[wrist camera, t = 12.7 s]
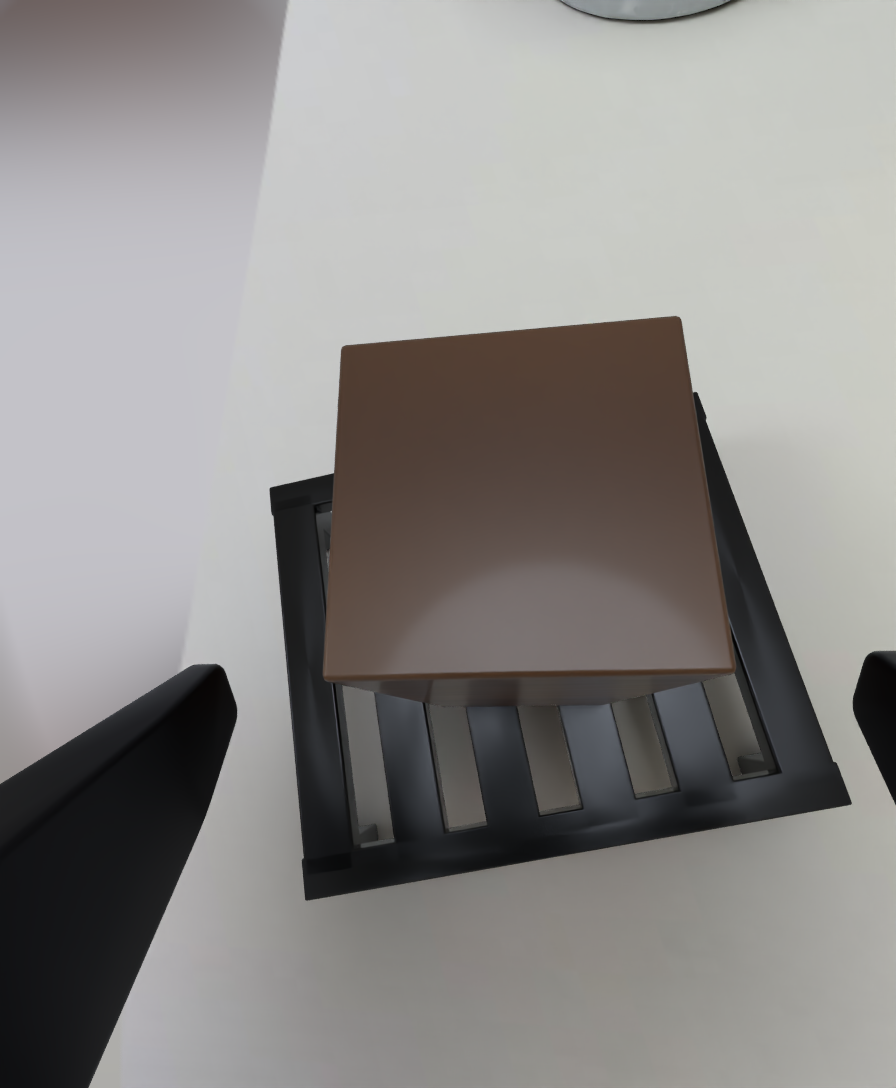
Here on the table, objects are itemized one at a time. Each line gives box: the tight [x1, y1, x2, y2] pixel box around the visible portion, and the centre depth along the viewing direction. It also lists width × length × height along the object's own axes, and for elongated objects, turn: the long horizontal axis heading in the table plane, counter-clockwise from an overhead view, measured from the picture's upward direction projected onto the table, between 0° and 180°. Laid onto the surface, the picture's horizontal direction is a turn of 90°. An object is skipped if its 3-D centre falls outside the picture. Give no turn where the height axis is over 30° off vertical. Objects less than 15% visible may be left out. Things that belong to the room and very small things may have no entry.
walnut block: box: [323, 316, 736, 707], centre depth 12 cm, size 4×4×10 cm
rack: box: [270, 392, 852, 901], centre depth 18 cm, size 14×12×4 cm
